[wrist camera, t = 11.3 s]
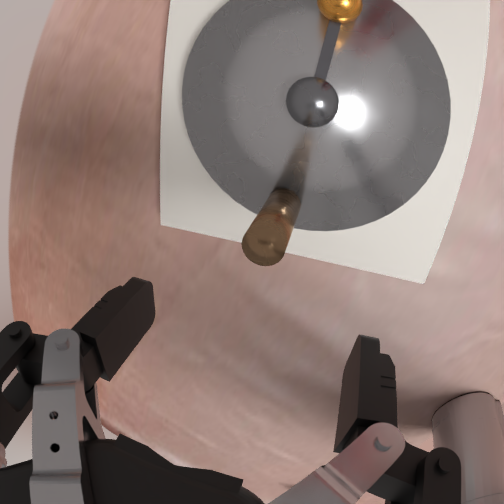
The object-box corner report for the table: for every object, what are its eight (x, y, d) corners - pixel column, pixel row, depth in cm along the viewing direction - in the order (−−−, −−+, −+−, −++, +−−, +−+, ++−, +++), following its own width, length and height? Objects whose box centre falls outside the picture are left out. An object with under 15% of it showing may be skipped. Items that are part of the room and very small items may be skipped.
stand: (479, 0, 13) (500, -11, 10) (419, 270, 25) (428, 298, 21) (189, -43, 17) (166, -58, 13) (171, 215, 28) (149, 234, 25)
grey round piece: (220, -35, 15) (167, -73, 9) (469, 35, 13) (523, 19, 7) (175, 182, 24) (118, 221, 18) (391, 253, 22) (403, 320, 16)
